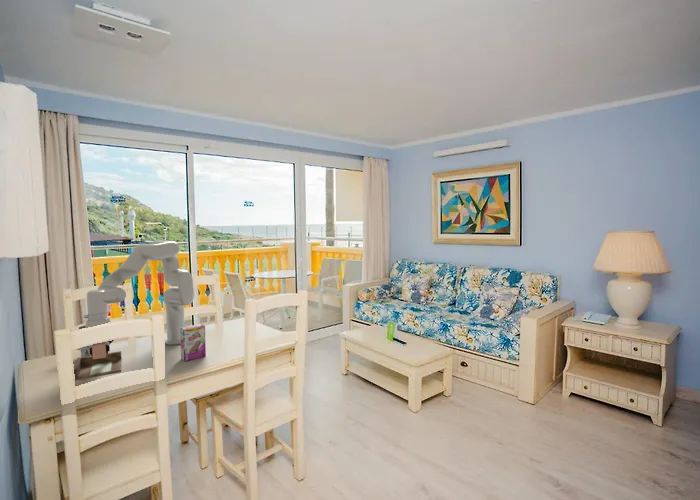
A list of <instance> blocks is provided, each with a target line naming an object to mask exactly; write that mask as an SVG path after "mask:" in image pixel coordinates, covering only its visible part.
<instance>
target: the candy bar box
mask: <svg viewBox="0 0 700 500" xmlns="http://www.w3.org/2000/svg"><path fill="white" fill-rule="evenodd" d="M180 341H181V344H180V360H182V361H183V362H187V361H191V360H195V359H199V358H203V357H206V352H207V351H206V350H207V349H206V325H204V324H202V323H200V324H194V325H187V326H185V327H183V328H180Z"/></svg>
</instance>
